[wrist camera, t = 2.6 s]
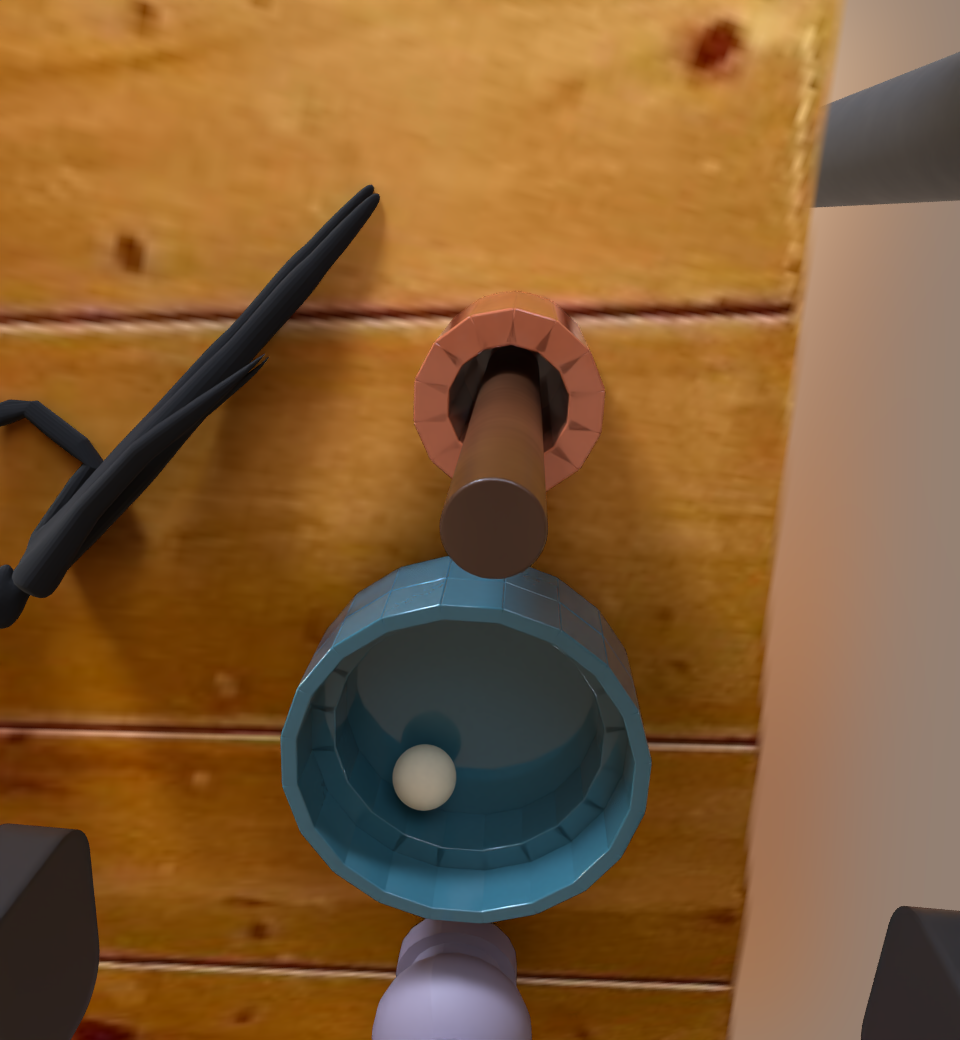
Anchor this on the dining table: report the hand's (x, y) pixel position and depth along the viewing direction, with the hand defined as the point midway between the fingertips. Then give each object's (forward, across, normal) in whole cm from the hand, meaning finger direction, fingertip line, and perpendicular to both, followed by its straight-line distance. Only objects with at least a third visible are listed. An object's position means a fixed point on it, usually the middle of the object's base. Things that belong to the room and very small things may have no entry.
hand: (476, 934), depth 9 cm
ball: (+28, +3, +18) cm, 34 cm away
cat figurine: (+30, +1, +31) cm, 44 cm away
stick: (+30, 0, -1) cm, 30 cm away
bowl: (+30, +1, +15) cm, 34 cm away
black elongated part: (+31, +17, 0) cm, 35 cm away
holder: (+30, 0, -1) cm, 30 cm away
